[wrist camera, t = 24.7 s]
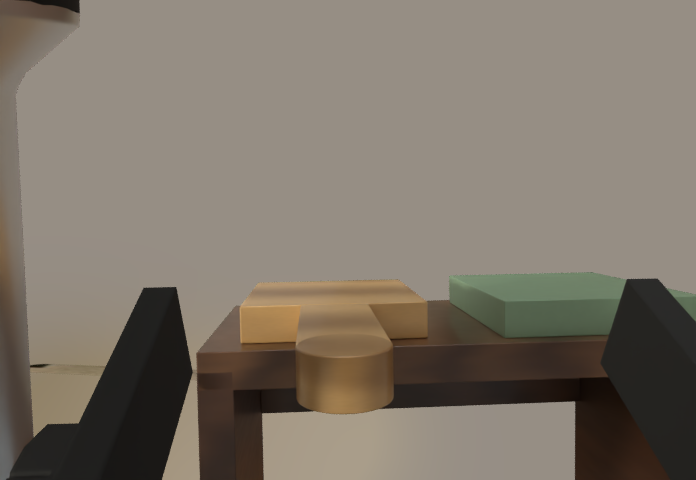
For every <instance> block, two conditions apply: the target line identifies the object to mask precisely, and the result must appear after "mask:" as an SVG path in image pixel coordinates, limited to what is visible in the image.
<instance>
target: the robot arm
mask: <svg viewBox="0 0 696 480" xmlns="http://www.w3.org/2000/svg"><path fill="white" fill-rule="evenodd" d="M79 10H80V9H79V0H0V480H162V477H163V473H164V470H165V466H166V463H167V460H168V456H169V453H170V449H171V445H172V442H173V439H174V435H175V431H176V428H177V425H178V421H179V417H180V414H181V410H182V407H183V404H184V400H185V397H186V393H187V390H188V386H189V383H190V380H191V376H192V373H193V372H192V367H191V361H190V356H189V351H188V346H187V340H186V336H185V330H184V325H183V321H182V315H181V310H180V304H179V299H178V294H177V289H176V287H163V288H144V289H143V290H142V293H141V295H140V297H139V299H138V301H137V303H136V305H135V307H134V309H133V312H132V313H131V315H130V318H129V320H128V322H127V324H126V326H125V328H124V330H123V332H122V334H121V336H120V339H119V341H118V343H117V345H116V347H115V349H114V351H113V353H112V355H111V357H110V359H109V361H108V363H107V365H106V368H105V370H104V372H103V374H102V376H101V378H100V380H99V382H98V384H97V387H96V388H95V391H94V393H93V395H92V397H91V399H90V401H89V403H88V405H87V407H86V409H85V411H84V413H83V416H82V418H81V420H80V422H79V424H47V425H46V426H45V428H43V429H42V430H41V431H40V432H39V433H38V434H37V435H36V436H35V437H34V436H33V417H32V399H31V381H30V362H29V343H28V325H27V305H26V286H25V266H24V248H23V228H22V209H21V191H20V190H21V189H20V170H19V151H18V132H17V113H16V93H17V90H18V86H19V84H20V83H21V81H22V79H23V77H24V75H25V74H26V72H28V71H29V70H30V69H31V68H32V67H33V66H35V65H36V64H37V63H38V62H39V61H40V60H41V59H43V58H44V57H45V56H46V55H47V54H48V53H49V52H50V51H52V50H53V49H54V48H55V47H56V46H57V45H59V44H60V43H61V42H62V41H63V40H64V39H66V38H67V37H68V36H69V35H70V34H71V33H72V32H74V31H75V30H76V29H77V28H78V27H79V21H80V11H79ZM600 364H601V365H602V367H603V369H604V370H605V372H606V374H607V375H608V377H609V379H610V380H611V382H612V384H613V385H614V387H615V389H616V390H617V392H618V394H619V395H620V397H621V399H622V400H623V402H624V404H625V405H626V407H627V409H628V410H629V412H630V414H631V415H632V417H633V419H634V420H635V422H636V424H637V425H638V427H639V429H640V430H641V432H642V434H643V435H644V437H645V439H646V440H647V442H648V444H649V445H650V447H651V449H652V450H653V452H654V454H655V455H656V457H657V459H658V460H659V462H660V464H661V465H662V467H663V469H664V470H665V472H666V474H667V475H668V477H669V479H670V480H696V321H695V320H694V319H693V318H692V317H691V316H690V314H689V313H688V312H687V311H686V310H685V309H684V308H683V307H682V306H681V304H680V303H679V302H678V301H677V300H676V299H675V298H674V297H673V295H672V294H671V293H670V292H669V291H668V290H667V289H666V288H665V287H664V286H663V284H662V283H661V282H660V281H659V280H658V279H627V280H626V283H625V286H624V289H623V293H622V296H621V299H620V302H619V305H618V308H617V311H616V315H615V318H614V321H613V324H612V327H611V330H610V333H609V337H608V340H607V343H606V346H605V349H604V352H603V355H602V359H601V362H600Z"/></svg>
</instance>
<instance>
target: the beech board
mask: <svg viewBox="0 0 696 480" xmlns="http://www.w3.org/2000/svg"><path fill="white" fill-rule="evenodd" d="M427 337H428V307H427V301H425V300H424V299H423V298H421V297H420V296H419V295H418V294H416V293H415V292H414V291H412V290H411V289H410V288H409V287H407V286H406V285H405V284H403V283H402V282H401V281H400V280H398V279H396V280H355V281H354V280H353V281H310V282H271V283H269V282H268V283H258V284H257V286H256V287H255V288H254V289H253V291H252V292H251V293H250V294H249V296H248V297H247V298H246V300H245V301H244V302H243V303H242V305H241V306H240V342H241V343H242V344H250V343H283V342H296V346H295V359H296V399H297V401H298V403H299V404H300V405H301V406H303V407H305V408H307V409H310V410H313V411H317V412H322V413H329V414H357V413H364V412H369V411H373V410H377V409H380V408H383V407H385V406H387V405H388V404H390V403H391V402H392V400H393V398H394V367H393V344H392V342H391V341H390V339H414V338H427Z"/></svg>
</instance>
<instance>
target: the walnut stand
mask: <svg viewBox="0 0 696 480" xmlns="http://www.w3.org/2000/svg"><path fill="white" fill-rule="evenodd" d="M427 307H428V337H427V338H414V339H390V341H391V342H392V344H393V367H394V398H393V400H392V402H391V403H390V404H388V405H387V406H385V407H383V408H380V409H385V408H414V407H440V406H466V405H492V404H517V403H542V402H543V403H544V402H567V401H568V402H570V401H575V480H670V479H669V477H668V475H667V474H666V472H665V470H664V469H663V467H662V465H661V464H660V462H659V460H658V459H657V457H656V455H655V454H654V452H653V450H652V449H651V447H650V445H649V444H648V442H647V440H646V439H645V437H644V435H643V434H642V432H641V430H640V429H639V427H638V425H637V424H636V422H635V420H634V419H633V417H632V415H631V414H630V412H629V410H628V409H627V407H626V405H625V404H624V402H623V400H622V399H621V397H620V395H619V394H618V392H617V390H616V389H615V387H614V385H613V384H612V382H611V380H610V379H609V377H608V375H607V374H606V372H605V370H604V369H603V367H602V365H601V364H600V362H601V359H602V355H603V352H604V349H605V346H606V343H607V340H608V337H609V335H591V336H559V337H526V338H504V337H503V336H501V335H499V334H498V333H496V332H495V331H493V330H492V329H490V328H489V327H487V326H486V325H484V324H483V323H481V322H480V321H478V320H476V319H475V318H473V317H472V316H470V315H469V314H467V313H466V312H464V311H463V310H461V309H460V308H458V307H456V306H455V305H453V304H452V303H450V300H441V301H440V300H439V301H427ZM295 346H296V342H283V343H250V344H242V343H241V342H240V306H235V307H234V309H233V310H232V311H231V312H230V313H229V315H228V316H227V317H226V318H225V319H224V321H223V322H222V323H221V324H220V325H219V327H218V328H217V329H216V330H215V331H214V333H213V334H212V335H211V336H210V337H209V339H208V340H207V341H206V342H205V343H204V345H203V346H202V347H201V348H200V350H199V351H198V352H197V354H196V355H197V391H198V392H197V394H198V425H199V458H200V459H199V461H200V480H264V475H263V436H262V434H263V433H262V413H282V412H307V411H308V412H309V411H313V410H310V409H307V408H305V407H303V406H301V405H300V404H299V403H298V401H297V399H296V359H295Z"/></svg>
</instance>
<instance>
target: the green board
mask: <svg viewBox="0 0 696 480" xmlns="http://www.w3.org/2000/svg"><path fill="white" fill-rule="evenodd" d="M625 283H626V280H625V279H621V278H616V277H611V276H606V275H602V274H596V273H592V272H590V273H589V272H587V273H547V274H546V273H544V274H503V275H460V276H449V286H450V287H449V291H450V303H452V304H453V305H455V306H456V307H458V308H460V309H461V310H463V311H464V312H466V313H467V314H469V315H470V316H472V317H473V318H475V319H476V320H478V321H480V322H481V323H483V324H484V325H486V326H487V327H489V328H490V329H492V330H493V331H495V332H496V333H498V334H499V335H501V336H503V337H504V338H526V337H559V336H591V335H609V333H610V330H611V327H612V324H613V321H614V318H615V315H616V311H617V308H618V305H619V302H620V299H621V296H622V293H623V289H624V286H625ZM666 289H667V288H666ZM667 290H668V291H669V292H670V293H671V294H672V295H673V297H674V298H675V299H676V300H677V301H678V302H679V303H680V304H681V306H682V307H683V308H684V309H685V310H686V311H687V312H688V313H689V314H690V316H691V317H692V318H693V319H694V320H695V321H696V295H695V294H691V293H686V292H681V291H677V290H672V289H667Z"/></svg>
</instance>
